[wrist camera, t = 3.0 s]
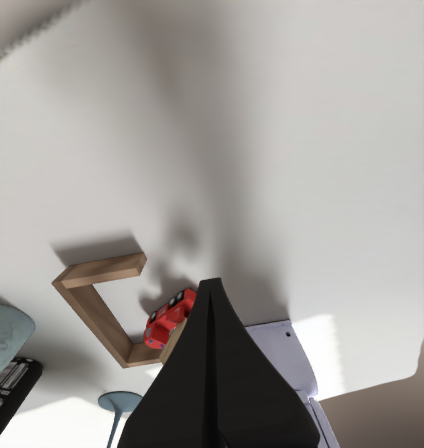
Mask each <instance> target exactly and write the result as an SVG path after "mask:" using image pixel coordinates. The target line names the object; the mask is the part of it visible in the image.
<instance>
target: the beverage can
mask: <svg viewBox="0 0 424 448" xmlns="http://www.w3.org/2000/svg"><path fill="white" fill-rule="evenodd" d="M41 375H42V366H41V364H40V363H38V362H37V361H34V360H32V359H28V358H14V359H12V360H11V362H10V363H9V364H8V366H6V367H5V368H4V369H3V370H2V372H1V374H0V435H1V433H2V432H3V430H4V429H5V428H6V426H7V425H8V423H9V422H10V420H11V419H12V417H13V416H14V414H15V413H16V411H17V410H18V409H19V407H20V406H21V404H22V403H23V401H24V400H25V398H26V397H27V395H28V394H29V392H30V391H31V389H32V388H33V387H34V385H35V384H36V382H37V381H38V379H39V378H40V376H41Z"/></svg>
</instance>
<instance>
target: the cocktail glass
mask: <svg viewBox="0 0 424 448" xmlns="http://www.w3.org/2000/svg"><path fill="white" fill-rule="evenodd" d="M142 398H143V397H141V396H140V395H137V394H135V393H130V392H112V393H108V394H105V395H103V396H102V397H100V398H99V400H98V404H99V405H100V406H101V407H102V408H104V409H106V410H109V411H114V412H115V418H114V423H113V427H112V431H111V435H110V438H109V441H108V445H107V448H110V447H111V443H112V440H113V437H114V434H115V431H116V428H117V425H118V422H119V420H120V417H121V415H122V413H123V412H130V411H134V409H135V408H136V406H137V405H138V404H139V402H140V401H141V399H142Z"/></svg>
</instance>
